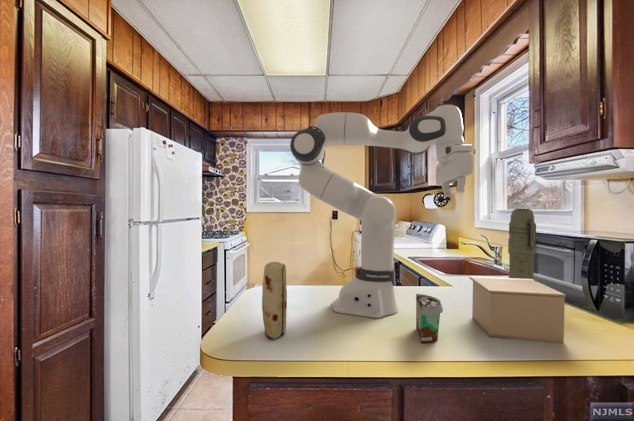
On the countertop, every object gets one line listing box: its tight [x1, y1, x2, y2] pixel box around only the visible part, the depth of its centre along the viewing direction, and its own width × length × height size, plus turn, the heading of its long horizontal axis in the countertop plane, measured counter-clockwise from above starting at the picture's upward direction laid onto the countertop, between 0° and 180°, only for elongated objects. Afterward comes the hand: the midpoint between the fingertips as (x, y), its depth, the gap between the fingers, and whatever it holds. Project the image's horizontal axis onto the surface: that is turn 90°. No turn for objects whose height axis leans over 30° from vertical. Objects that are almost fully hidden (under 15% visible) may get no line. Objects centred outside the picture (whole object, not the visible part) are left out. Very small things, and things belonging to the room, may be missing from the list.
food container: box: [415, 293, 444, 345], centre depth 82 cm, size 12×6×10 cm, turn 168°
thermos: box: [507, 208, 537, 280], centre depth 117 cm, size 9×12×35 cm
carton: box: [471, 280, 566, 344], centre depth 87 cm, size 18×14×12 cm
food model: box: [261, 261, 288, 340], centre depth 82 cm, size 10×7×20 cm
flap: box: [469, 275, 567, 298], centre depth 88 cm, size 18×17×1 cm
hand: (453, 194), depth 99 cm, fingers open, 8 cm apart
